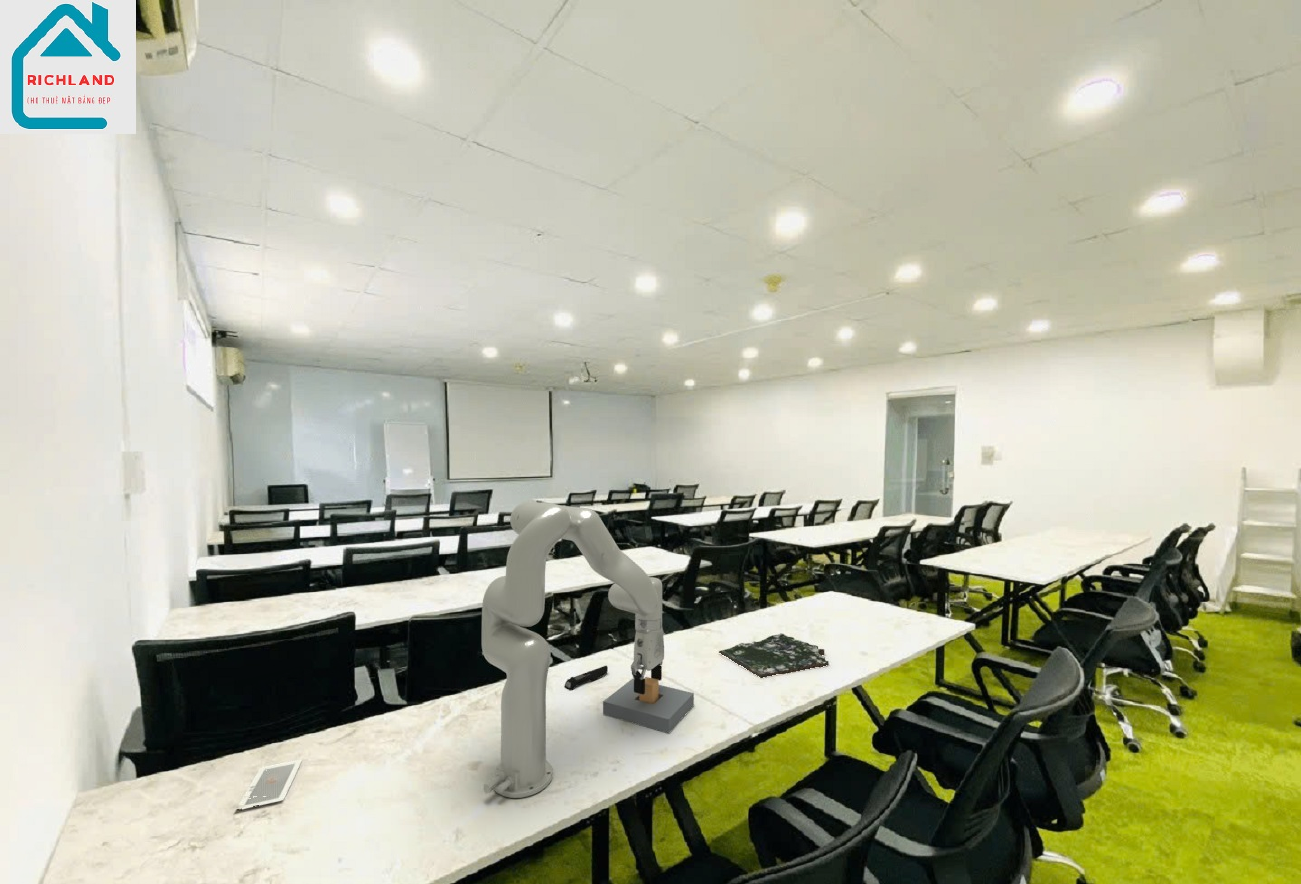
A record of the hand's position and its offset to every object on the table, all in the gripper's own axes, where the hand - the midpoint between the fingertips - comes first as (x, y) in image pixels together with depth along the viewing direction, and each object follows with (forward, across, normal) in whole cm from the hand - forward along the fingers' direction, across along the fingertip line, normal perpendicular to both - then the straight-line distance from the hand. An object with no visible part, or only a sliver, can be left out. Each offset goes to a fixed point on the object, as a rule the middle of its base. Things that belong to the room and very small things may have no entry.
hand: (648, 686), depth 136 cm
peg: (+7, 0, 0) cm, 7 cm away
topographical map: (+6, +54, -23) cm, 59 cm away
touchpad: (+9, -66, +56) cm, 87 cm away
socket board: (+7, 0, 0) cm, 7 cm away
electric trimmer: (+7, +7, +26) cm, 28 cm away
